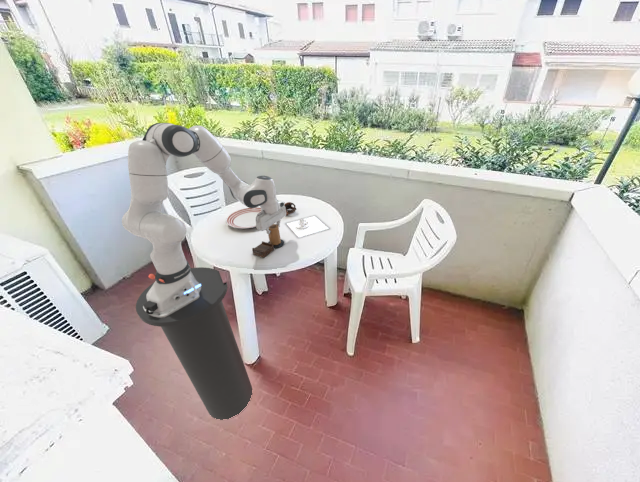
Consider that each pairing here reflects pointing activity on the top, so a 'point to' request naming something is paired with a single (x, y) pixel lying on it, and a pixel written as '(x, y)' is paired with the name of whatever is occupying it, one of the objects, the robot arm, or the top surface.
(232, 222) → the dinner plate
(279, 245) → the coaster
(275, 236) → the paper roll
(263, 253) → the roll stand
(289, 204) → the brown openwork ring figurine
